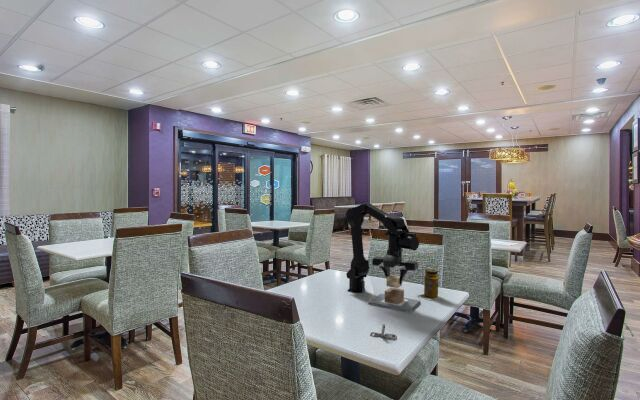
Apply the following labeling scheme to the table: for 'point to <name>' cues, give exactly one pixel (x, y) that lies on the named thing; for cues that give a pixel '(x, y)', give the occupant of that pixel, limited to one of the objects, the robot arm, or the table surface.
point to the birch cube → (393, 281)
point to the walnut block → (394, 295)
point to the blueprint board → (405, 305)
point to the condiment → (430, 285)
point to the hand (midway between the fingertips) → (394, 283)
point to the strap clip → (387, 335)
